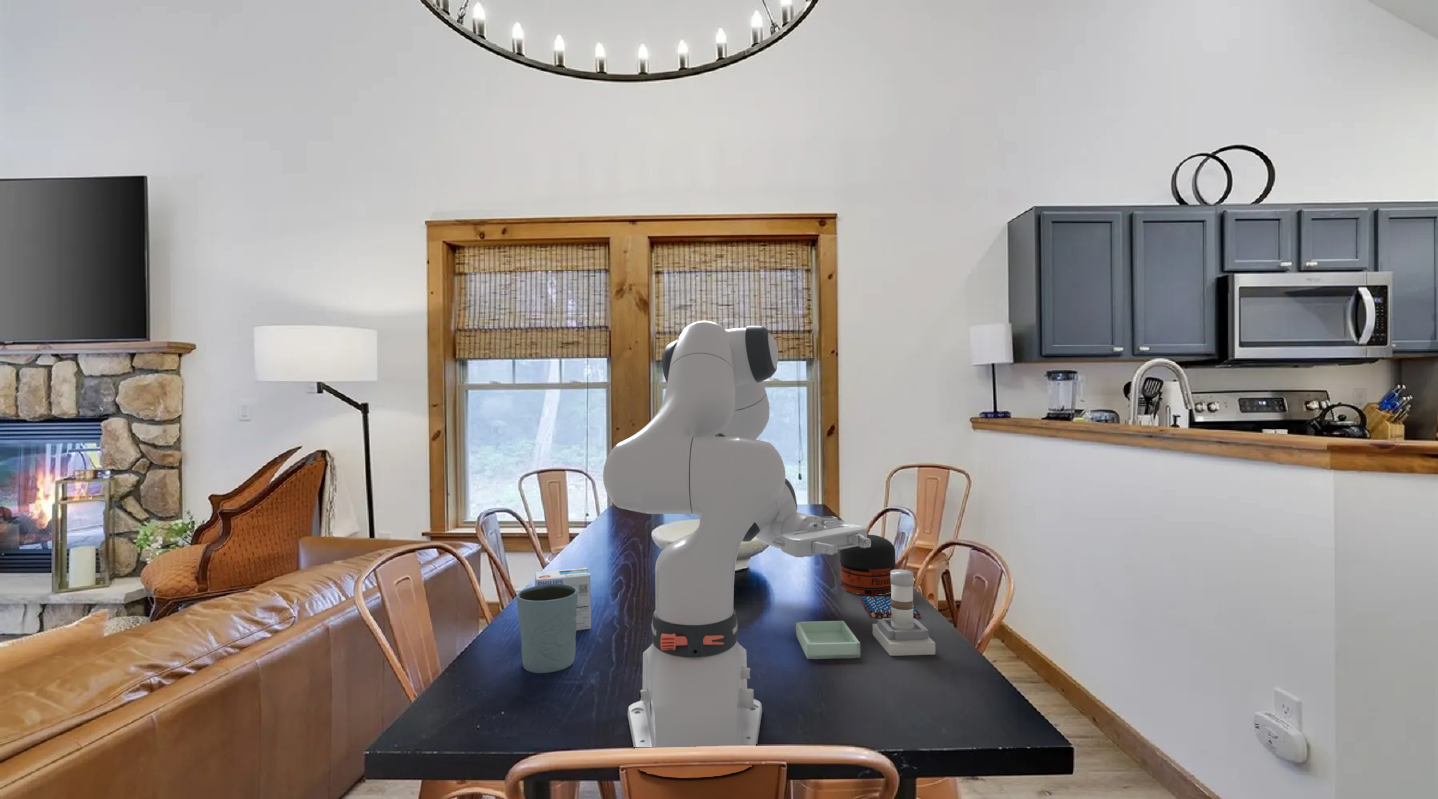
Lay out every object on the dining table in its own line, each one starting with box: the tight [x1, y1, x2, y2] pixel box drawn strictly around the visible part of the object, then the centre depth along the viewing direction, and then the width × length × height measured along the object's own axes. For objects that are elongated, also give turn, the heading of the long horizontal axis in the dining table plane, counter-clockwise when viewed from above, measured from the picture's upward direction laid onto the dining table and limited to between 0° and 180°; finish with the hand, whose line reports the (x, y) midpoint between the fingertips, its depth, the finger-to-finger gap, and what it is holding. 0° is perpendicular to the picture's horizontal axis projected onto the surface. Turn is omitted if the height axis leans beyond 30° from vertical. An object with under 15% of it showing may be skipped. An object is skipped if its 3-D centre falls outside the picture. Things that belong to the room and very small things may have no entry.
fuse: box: [890, 568, 914, 630], centre depth 110 cm, size 4×4×11 cm
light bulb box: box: [534, 567, 592, 631], centre depth 120 cm, size 11×7×11 cm, turn 108°
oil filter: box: [839, 533, 896, 596], centre depth 145 cm, size 13×12×13 cm
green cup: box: [516, 584, 578, 674], centre depth 103 cm, size 10×10×12 cm
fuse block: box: [872, 617, 936, 657], centre depth 110 cm, size 10×8×4 cm
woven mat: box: [860, 595, 921, 618], centre depth 129 cm, size 10×11×2 cm
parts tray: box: [795, 620, 861, 660], centre depth 109 cm, size 11×9×2 cm
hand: (852, 547), depth 120 cm, fingers open, 8 cm apart
